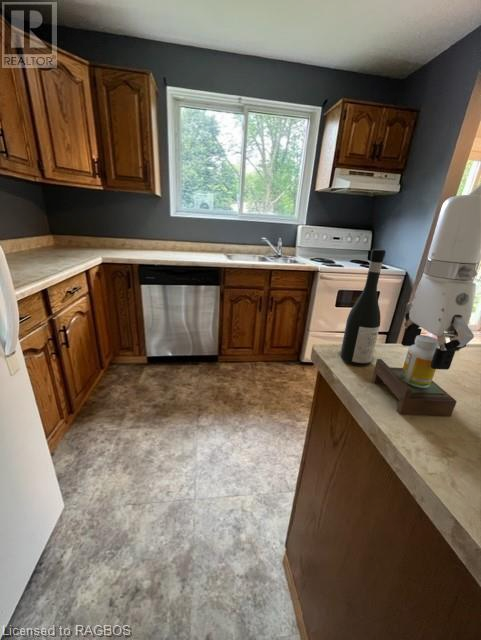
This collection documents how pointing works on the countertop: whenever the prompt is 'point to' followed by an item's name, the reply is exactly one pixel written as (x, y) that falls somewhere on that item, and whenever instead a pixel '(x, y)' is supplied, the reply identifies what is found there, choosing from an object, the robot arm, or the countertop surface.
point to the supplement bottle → (420, 362)
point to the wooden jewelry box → (414, 393)
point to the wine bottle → (364, 318)
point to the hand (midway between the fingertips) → (422, 356)
